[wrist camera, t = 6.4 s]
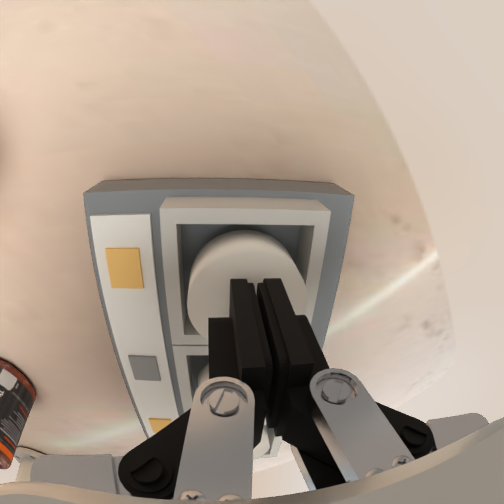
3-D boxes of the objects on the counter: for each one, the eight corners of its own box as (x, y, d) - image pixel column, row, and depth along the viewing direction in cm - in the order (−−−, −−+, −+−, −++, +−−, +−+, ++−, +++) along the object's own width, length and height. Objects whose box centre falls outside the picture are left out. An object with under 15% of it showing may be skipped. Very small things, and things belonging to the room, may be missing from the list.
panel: (288, 416, 23) (298, 454, 20) (151, 419, 22) (147, 459, 18) (334, 183, 15) (371, 206, 11) (102, 181, 13) (67, 204, 10)
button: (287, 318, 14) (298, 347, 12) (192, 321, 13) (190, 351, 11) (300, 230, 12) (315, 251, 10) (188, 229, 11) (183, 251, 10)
